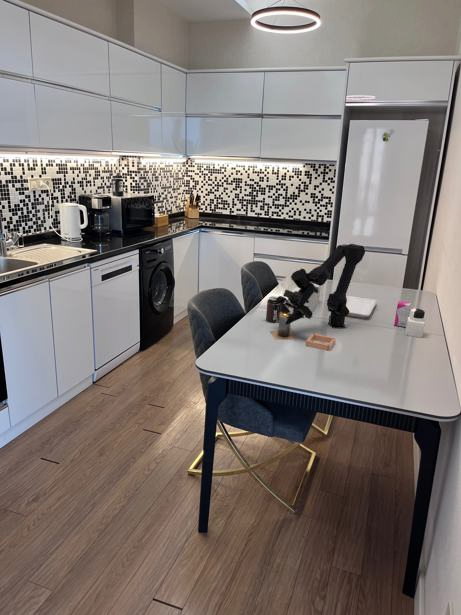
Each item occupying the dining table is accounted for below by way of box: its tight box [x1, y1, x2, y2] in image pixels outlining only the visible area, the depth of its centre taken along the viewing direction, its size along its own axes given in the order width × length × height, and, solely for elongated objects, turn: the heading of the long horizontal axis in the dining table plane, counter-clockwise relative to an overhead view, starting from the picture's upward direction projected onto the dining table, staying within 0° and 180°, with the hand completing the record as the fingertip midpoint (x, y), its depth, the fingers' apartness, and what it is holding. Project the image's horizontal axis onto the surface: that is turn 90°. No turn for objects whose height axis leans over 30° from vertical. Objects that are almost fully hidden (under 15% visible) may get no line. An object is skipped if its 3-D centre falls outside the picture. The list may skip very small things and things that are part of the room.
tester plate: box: [269, 330, 298, 341], centre depth 201 cm, size 10×10×1 cm
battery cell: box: [277, 312, 291, 337], centre depth 199 cm, size 5×5×10 cm
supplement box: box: [393, 301, 412, 329], centre depth 223 cm, size 6×6×12 cm
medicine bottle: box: [405, 308, 426, 338], centre depth 212 cm, size 7×7×12 cm
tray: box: [346, 295, 377, 319], centre depth 245 cm, size 17×31×4 cm, turn 156°
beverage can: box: [265, 295, 281, 324], centre depth 217 cm, size 7×7×12 cm
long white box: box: [286, 282, 322, 319], centre depth 242 cm, size 32×11×11 cm, turn 159°
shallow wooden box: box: [305, 333, 337, 352], centre depth 192 cm, size 10×10×3 cm
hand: (282, 322), depth 198 cm, fingers closed on battery cell, 5 cm apart
